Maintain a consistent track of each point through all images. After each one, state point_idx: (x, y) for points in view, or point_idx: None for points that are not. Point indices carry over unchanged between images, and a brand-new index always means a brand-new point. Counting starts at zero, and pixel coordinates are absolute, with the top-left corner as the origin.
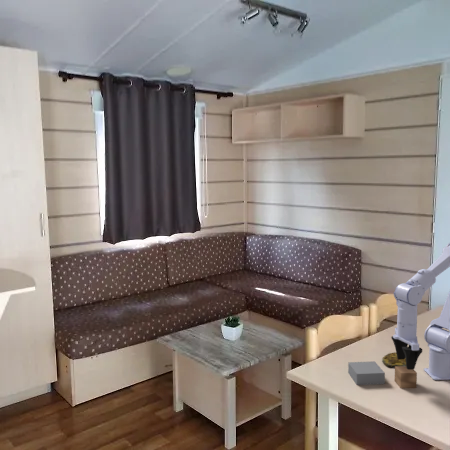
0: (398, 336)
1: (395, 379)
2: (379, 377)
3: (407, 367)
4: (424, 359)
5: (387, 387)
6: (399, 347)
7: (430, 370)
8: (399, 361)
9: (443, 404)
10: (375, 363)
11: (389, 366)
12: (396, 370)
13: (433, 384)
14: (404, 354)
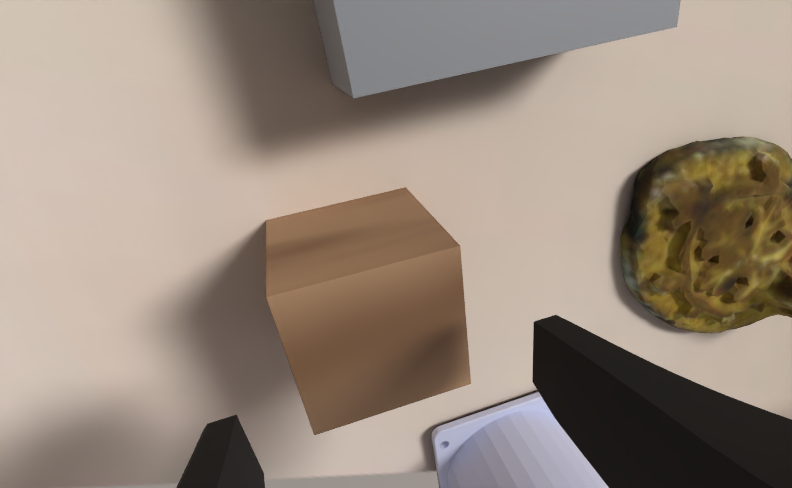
0: None
1: (390, 200)
2: (329, 20)
3: (195, 449)
4: None
5: (254, 101)
6: (675, 474)
7: (511, 437)
8: (681, 263)
9: (56, 479)
10: (624, 22)
11: (642, 180)
12: (401, 246)
13: (374, 423)
14: (572, 428)
